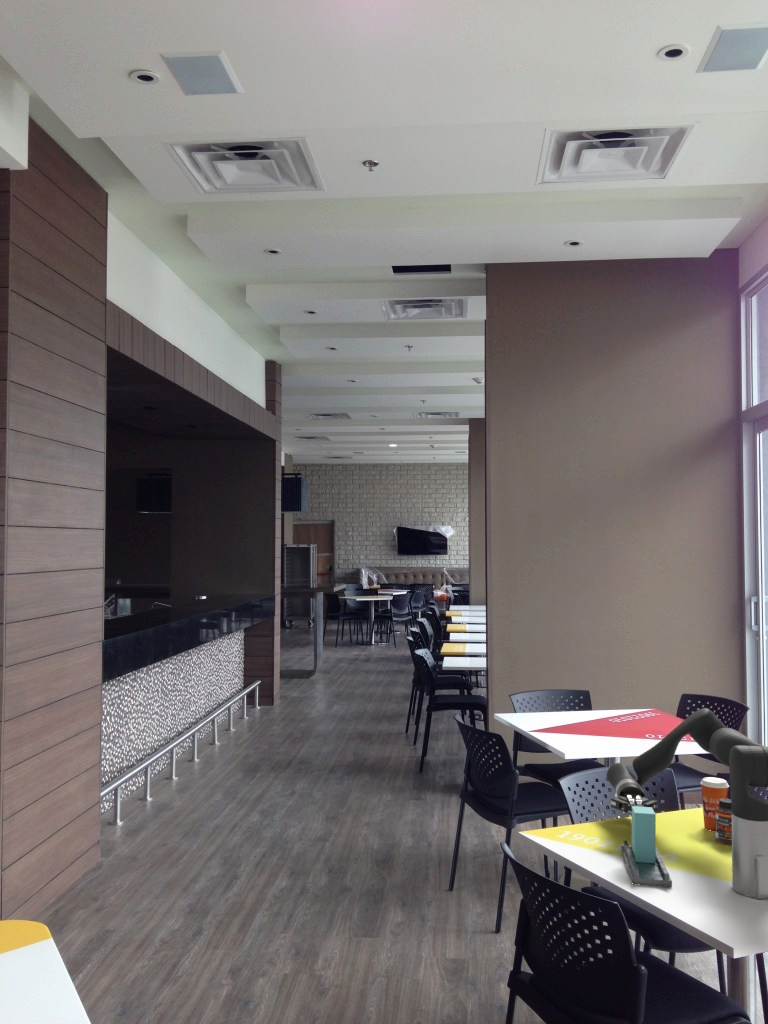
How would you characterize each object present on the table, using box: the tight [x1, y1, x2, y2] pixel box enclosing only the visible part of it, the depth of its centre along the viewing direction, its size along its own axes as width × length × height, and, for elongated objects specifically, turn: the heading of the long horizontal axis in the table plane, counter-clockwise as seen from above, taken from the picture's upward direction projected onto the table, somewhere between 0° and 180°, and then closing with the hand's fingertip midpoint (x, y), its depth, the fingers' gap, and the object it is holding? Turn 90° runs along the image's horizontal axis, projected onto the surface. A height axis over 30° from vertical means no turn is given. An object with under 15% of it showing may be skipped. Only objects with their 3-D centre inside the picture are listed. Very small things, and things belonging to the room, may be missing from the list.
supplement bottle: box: [714, 798, 732, 846], centre depth 227 cm, size 6×6×11 cm
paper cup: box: [700, 776, 730, 832], centre depth 238 cm, size 8×8×14 cm
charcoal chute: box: [620, 839, 673, 889], centre depth 205 cm, size 23×9×3 cm, turn 170°
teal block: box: [631, 806, 657, 864], centre depth 208 cm, size 6×5×12 cm
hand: (638, 813), depth 218 cm, fingers closed
